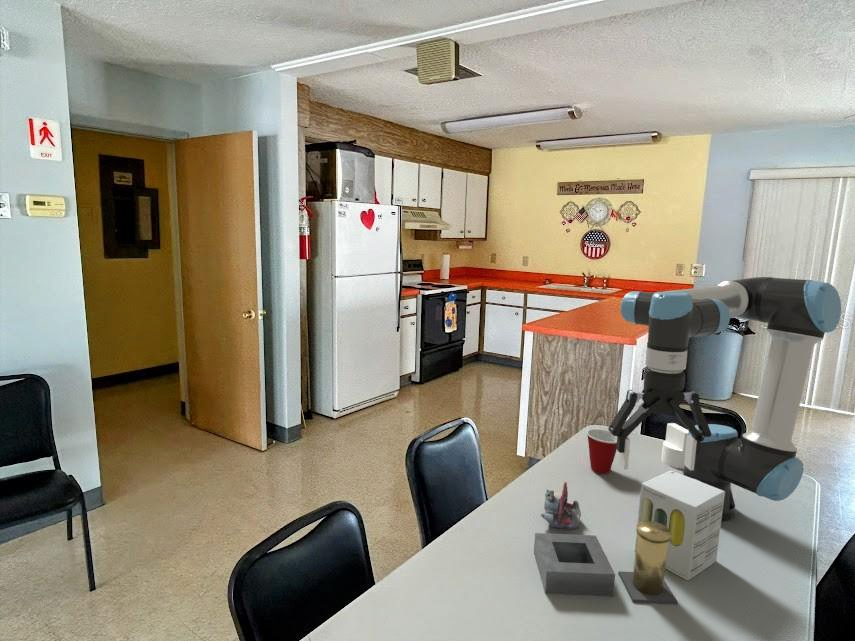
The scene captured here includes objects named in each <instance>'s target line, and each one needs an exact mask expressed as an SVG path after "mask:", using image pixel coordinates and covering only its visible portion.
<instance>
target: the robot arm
mask: <svg viewBox="0 0 855 641" xmlns="http://www.w3.org/2000/svg"><path fill="white" fill-rule="evenodd" d="M619 312H620V314H621V317H622V319H623V320H624V321H626V322H628V323H632V324H635V325H637V326H638V325H641V326H647V327H648V332H647V333H648V334H647V342H646V351H645V352H646V353H645V362H644V364H645V366H646V367H645V368H644V376H643V389H642V391H641V392H639V391H634V390H633V389H628V390H627V391H626V396H625V400H624V402H623V403H622V405H621V407H620V408H619V410H618V411H617V413H616V415H615V417H614V418H613V420H612V421H611V423H610V424H609V426H608V430H607V431H610V432H611V434H612V435H613V436H617V446H616V448H617V450H616V451H617V452H619V465H620V466H621V467H622V468H623V470H629V456H630V446H631V445H630V444H631V439H630V438H629V436H630V434H632V432H634V431H635V430H636V428H638V426H639V425H641V424H642V423H643V421H644V420H646V419H647V417H650V416H651V415H652V414H655V415H661V414H665V415H671V414H673V413H674V414H675V416H676V417H677V418H678V420H679V421H680V422H681V423H682V424H683V426H684V428H685V429H687V430H688V431H689V432H688V435H687V439H686V449H685V459H684V468H683V471H682V475H685V476H687V477H690V478H692V479H696V480H698V481H700V482H702V483H705V484H707V485H710V486H713V487H715V488H718V489H720V490H723V491H725V497H724V504H723V511H722V519H721V522H723V521H728V520H732V519H733V517H735V514H736V504H735V499H734V495H733V491H732V486H731V484H733V485H734V486H737V487H739V488H742V489H744V490H746V491H749V492H751V493H753V494H756V496H759V497H764V498H766V499H768V500H771V501H775V502H780V501H784V500H786V499H787V498H788V497H790V495H792V494H793V493H794V492H795V490H796V489H797V487H798V486H799V484H800V482H801V480H802V477H803V474H804V469H805V468H804V463H803V461H802V460H801V459H800V458H798V457H796V455H797V450H798V448H797V446H796V445H795V444H794V443H793V441H792V438H793V434H794V431H795V427H796V422H797V418H798V414H799V409H800V405H801V400H802V398H803V393H804V387H805V384H806V380H807V376H808V371H809V369H810V368H809V367H810V363H811V358H812V354H813V350H814V346H815V345H817V344H818V343H819V342H821V341H823V340H824V337H825V334H826V333H828V334H829V333H831V332H834V331H835V330H836V328H837V327H838V324H839V323H840V321H841V314H842V302H841V296H840V295H839V292H838V290H837V289H836V287H835V286H834V285H832V284H830V283H829V282H825V281H817V280H813V279H799V278H798V279H797V278H796V279H795V278H782V277H781V278H780V277H774V276H773V277H772V276H760V277H749V278H741V279H740V278H739V279H734V280H725V281H723V282H721V283H719V284H717V285H714V286H705V287H704V286H703V287H696V288H695V287H694V288H693V287H692V288H685V289H675V290H674V289H673V290H665V291H655V292H646V291H645V292H644V291H643V290H639V291H638V290H637V291H636V290H635V291H633V290H632V291H629V292H627V293H626V294H625V295H624V296H623V298H622V299H621V302H620V311H619ZM734 318H739V319H743V320H750V321H756V322H760V323H764V324H765V323H766V324H767V326H766V331H767V333H768V334H769V335H770V337H771V341H770V345H769V350H768V354H767V359H766V364H765V368H764V371H763V376H762V380H761V384H760V390H759V394H758V398H757V401H756V402H757V403H756V407H755V411H754V415H753V419H752V425H751V428H750V430H749V431H747V432H745V433H742V436H741V438H739V437H738V436H739V433H738V431H737V430H736V429H735V428H733V427H731V426H728V425H722V424H714V423H713V424H712V423H708V422H707V420H706V417H705V415H704V411H703V410H702V407H701V405H700V395H699V393H697V392H695V391H694V390H691V389H689V390H688V391H687V392H684V389H685V382H686V380H685V379H686V372H685V371H684V370H686V369H687V361H688V360H687V359H688V348H689V340H690V338H696V337H704V336H709V337H710V336H712V335H715V334H718V333H721V332H723V331H724V330H726V329H727V327H728V325H729V323H730V320H731V319H734ZM640 400H642V403H641V404H640V405H639V406H638V409H637V410H636V411H635V412H634V413H632V412H633V410H634V409H635V406H636V404H637V403H639V402H640ZM684 401H686V402H687V403H688V406H689V408H690V411H691V413H692V416H693V418H694V420H695V423H696V425H695V424H694V423H693V422H692V421H691V419H690V418H689V417H688V416H687V415H686V413H685V412H684V410H683V409H682V407H681V404H682V403H683V402H684ZM631 414H632V415H631Z"/></svg>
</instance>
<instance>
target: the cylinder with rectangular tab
mask: <svg viewBox="0 0 855 641" xmlns="http://www.w3.org/2000/svg"><path fill="white" fill-rule="evenodd" d="M688 432H689V431H688V430H687V428H686V427H683V426H681V425H679V424H677V423H676V422H675V423H674V422H670V423H669V422H668V423H667V425H666V432H665V441H663V442H662V450H661V462H662V463H663V464H665V465H666V466H668V467H671V468H676V469H683V470H684V459H685V449H686V439H687V435H688Z"/></svg>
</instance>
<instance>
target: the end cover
mask: <svg viewBox="0 0 855 641" xmlns="http://www.w3.org/2000/svg"><path fill="white" fill-rule="evenodd" d="M635 532H636V535H637V542H636V541H635V545H636V552H635V551H634V552H635V553H634V554H635V555H634V561H633V562H634V564H633V571H632V572H633V581H632V583H633V585H634V587H635V588H636V589H637V590H639V591H640V592H642V593H644V594H648V595H659V594H661V593H662V592H663V586H664V580H665V575H666V574H665V573H666V569H665V568H666V560H667V551H668V542H669V540H670V539H671V531H670V530H669V529H668V528H667V527H666V526H664V525H662V524H660V523H657V522H654V521H640V522H638V521H637V524H636V527H635Z"/></svg>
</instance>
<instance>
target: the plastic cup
mask: <svg viewBox="0 0 855 641" xmlns="http://www.w3.org/2000/svg"><path fill="white" fill-rule="evenodd" d="M586 436H587V442H588V453H589V456H588V457H589V463H590V468H591V471H593V472H595V473H596V474H601V475H606V474H610V471H611V470H612V466H613V462H614V460H615V457H616V453H617V451H618V450H617V448H616V446H617V436H613V435H612V434H611V432H610V431H609V430H606V429H600V428H590V429H587V430H586Z"/></svg>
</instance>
